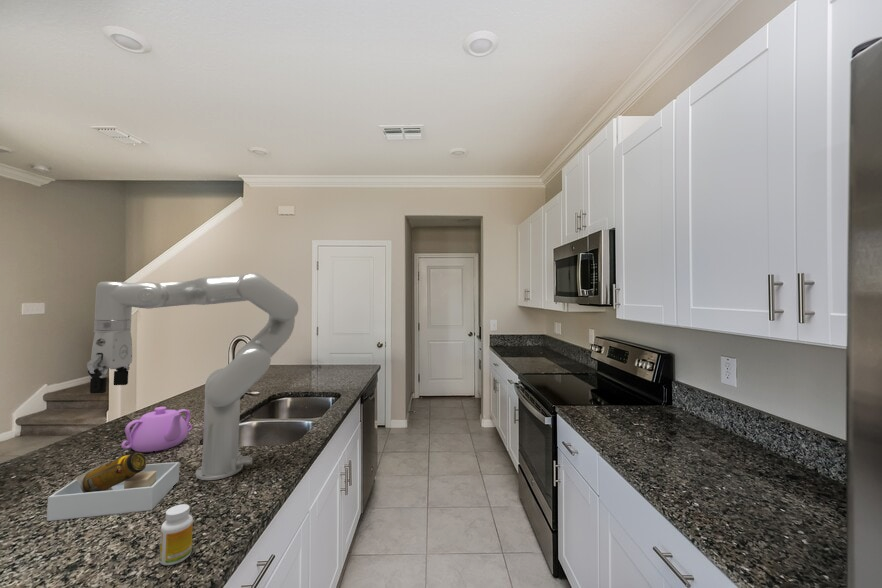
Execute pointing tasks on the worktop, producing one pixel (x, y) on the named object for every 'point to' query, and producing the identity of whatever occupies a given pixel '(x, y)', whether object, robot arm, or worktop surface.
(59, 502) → the tote
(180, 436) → the teapot
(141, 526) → the worktop surface
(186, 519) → the supplement bottle
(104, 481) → the condiment
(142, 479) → the cube
